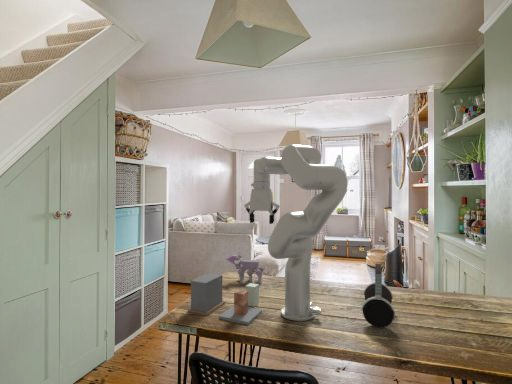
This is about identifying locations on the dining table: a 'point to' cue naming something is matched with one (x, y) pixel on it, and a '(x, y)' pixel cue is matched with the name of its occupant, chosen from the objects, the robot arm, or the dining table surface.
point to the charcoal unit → (206, 294)
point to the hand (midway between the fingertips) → (261, 223)
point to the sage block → (253, 294)
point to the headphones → (378, 302)
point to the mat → (244, 319)
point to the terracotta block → (240, 302)
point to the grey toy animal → (246, 267)
